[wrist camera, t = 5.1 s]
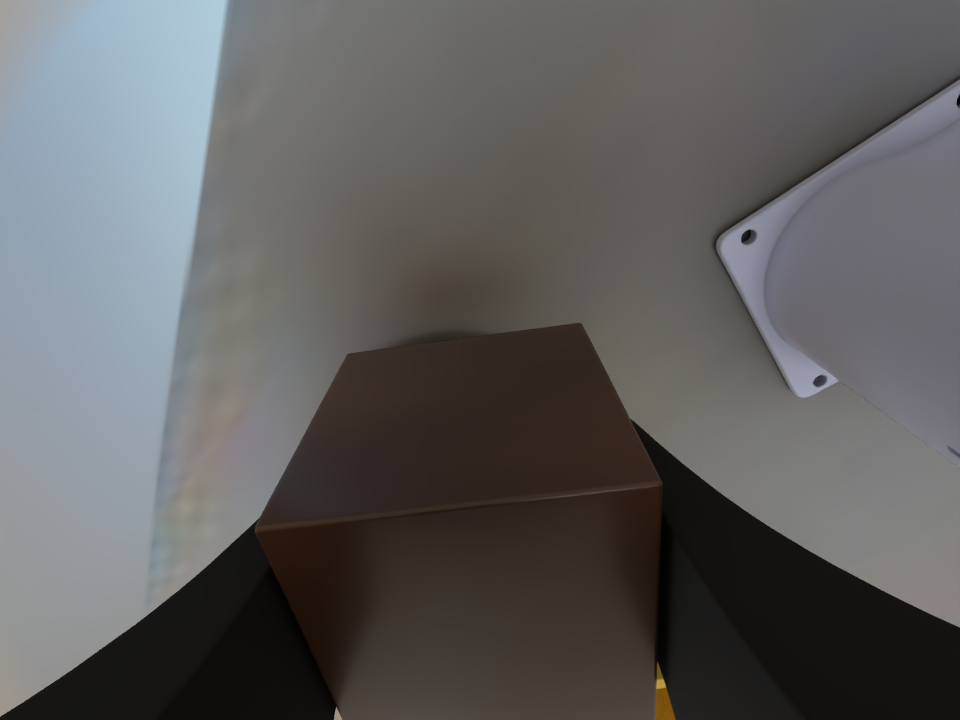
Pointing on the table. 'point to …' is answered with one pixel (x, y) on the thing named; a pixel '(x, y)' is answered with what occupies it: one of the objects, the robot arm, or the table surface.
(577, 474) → the block
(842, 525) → the table surface
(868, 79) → the table surface
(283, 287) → the table surface
